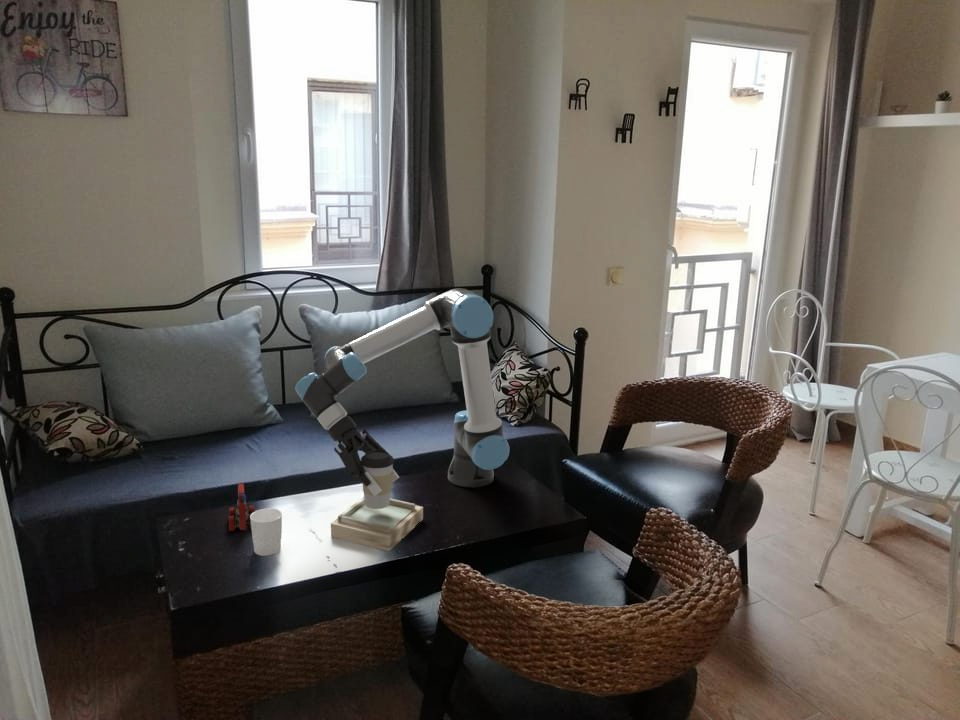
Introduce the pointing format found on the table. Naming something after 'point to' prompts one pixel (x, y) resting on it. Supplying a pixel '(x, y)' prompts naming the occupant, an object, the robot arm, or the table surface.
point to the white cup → (266, 531)
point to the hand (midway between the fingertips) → (387, 486)
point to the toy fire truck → (240, 512)
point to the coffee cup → (378, 477)
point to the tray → (377, 523)
